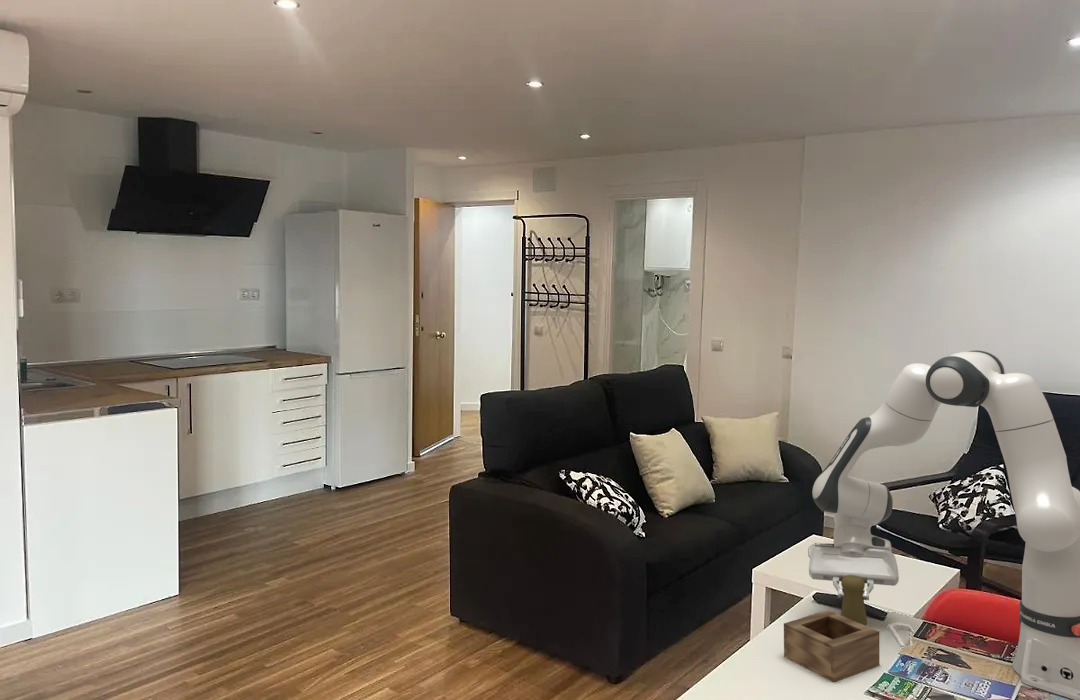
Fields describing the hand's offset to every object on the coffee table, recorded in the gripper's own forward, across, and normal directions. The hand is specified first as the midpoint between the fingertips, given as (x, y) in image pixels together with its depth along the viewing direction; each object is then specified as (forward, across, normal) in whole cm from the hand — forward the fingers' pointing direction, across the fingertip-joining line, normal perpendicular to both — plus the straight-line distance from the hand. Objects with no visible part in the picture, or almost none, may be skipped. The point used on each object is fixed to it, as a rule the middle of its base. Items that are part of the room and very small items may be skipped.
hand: (853, 598), depth 188 cm
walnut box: (+18, -5, -6) cm, 19 cm away
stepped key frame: (+6, +11, +8) cm, 15 cm away
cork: (+4, 0, +5) cm, 6 cm away
